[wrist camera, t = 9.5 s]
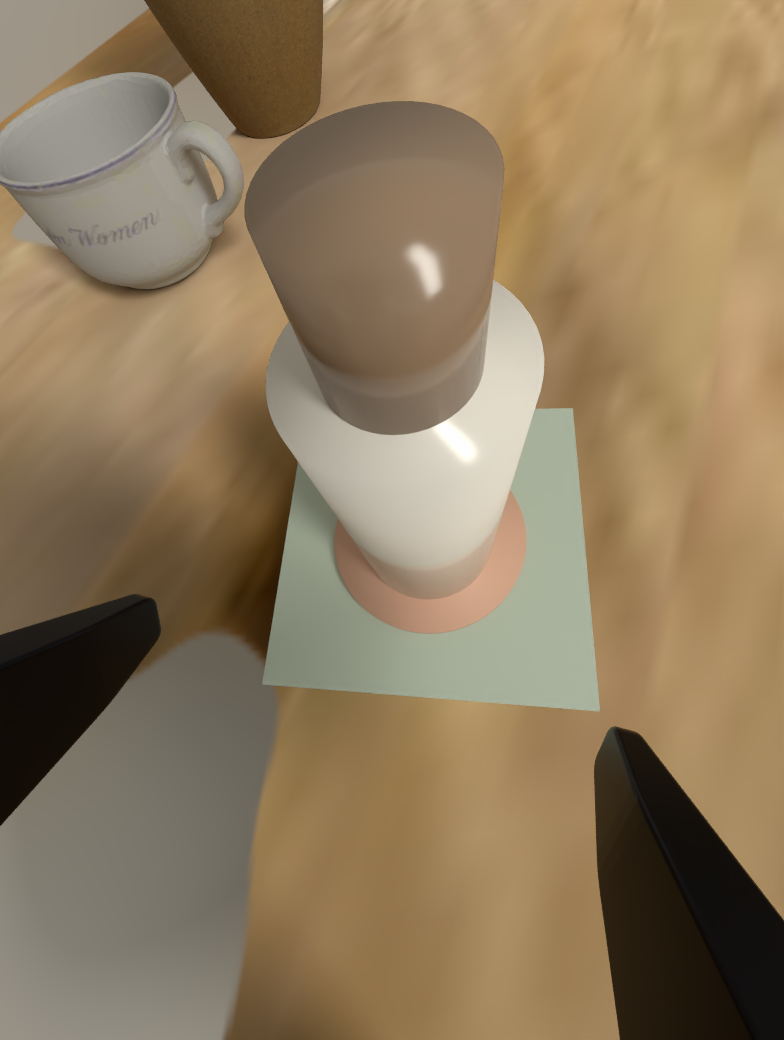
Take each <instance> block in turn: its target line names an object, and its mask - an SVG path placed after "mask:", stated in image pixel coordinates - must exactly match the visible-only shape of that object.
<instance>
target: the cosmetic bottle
mask: <svg viewBox="0 0 784 1040" xmlns="http://www.w3.org/2000/svg"><path fill="white" fill-rule="evenodd" d="M503 181H504V162H503V156H502V153H501V151H500V148H499V146H498V144H497V142H496V141H495V139H494V137H493V136H492V135H491V134H490V133H489V132H488V130H487V129H486V128H485V127H483V126H482V125H481V124H480V123H478V122H477V121H476V120H474V119H472V118H471V117H469V116H467V115H466V114H464V113H461V112H459V111H456V110H454V109H451V108H448V107H444V106H441V105H436V104H430V103H425V102H413V101H393V102H382V103H375V104H369V105H363V106H359V107H355V108H351V109H347V110H344V111H341V112H338V113H335V114H333V115H330V116H328V117H325V118H323V119H320V120H318V121H316V122H314V123H312V124H310V125H309V126H307V127H305V128H303V129H302V130H300V131H298V132H297V133H295V134H294V135H292V136H291V137H290V138H288V139H287V140H286V141H284V142H283V143H282V144H281V145H280V146H278V147H277V148H276V149H275V150H274V151H273V152H272V153H271V154H270V155H269V156H268V157H267V158H266V160H265V161H264V162H263V163H262V165H261V166H260V167H259V169H258V170H257V172H256V173H255V175H254V177H253V179H252V181H251V183H250V186H249V188H248V191H247V194H246V200H245V220H246V225H247V228H248V231H249V233H250V235H251V238H252V240H253V242H254V244H255V247H256V249H257V251H258V253H259V255H260V258H261V260H262V262H263V264H264V267H265V269H266V271H267V273H268V275H269V278H270V280H271V282H272V284H273V286H274V289H275V291H276V293H277V295H278V298H279V300H280V302H281V304H282V306H283V309H284V311H285V313H286V315H287V317H288V320H289V322H288V324H287V325H286V326H285V328H284V329H283V331H282V333H281V334H280V336H279V338H278V339H277V342H276V344H275V346H274V349H273V351H272V353H271V357H270V360H269V364H268V368H267V375H266V398H267V404H268V409H269V412H270V415H271V418H272V421H273V424H274V426H275V427H276V429H277V431H278V433H279V435H280V436H281V438H282V439H283V441H284V442H285V444H286V445H287V447H288V448H289V449H290V451H291V452H292V454H293V455H294V457H295V458H296V459H297V461H298V462H299V464H300V465H301V467H302V468H303V469H304V471H305V472H306V474H307V475H308V477H309V478H310V479H311V481H312V482H313V484H314V485H315V487H316V488H317V489H318V491H319V492H320V494H321V495H322V497H323V498H324V499H325V501H326V502H327V504H328V505H329V507H330V508H331V509H332V511H333V512H334V514H335V515H336V517H337V518H338V519H339V521H340V522H341V524H342V525H343V527H344V528H345V529H346V531H347V532H348V534H349V535H350V536H351V538H352V539H353V541H354V542H355V544H356V545H357V546H358V548H359V549H360V551H361V552H362V554H363V555H364V556H365V558H366V559H367V561H368V562H369V564H370V565H371V566H372V568H373V569H374V571H375V572H376V573H377V575H378V576H379V577H380V579H381V580H382V581H383V582H384V583H385V584H387V585H388V586H389V587H391V588H392V589H393V590H395V591H397V592H399V593H401V594H403V595H406V596H408V597H412V598H416V599H425V600H427V599H440V598H444V597H448V596H451V595H453V594H456V593H458V592H460V591H462V590H463V589H465V588H466V587H468V586H469V585H470V584H471V583H473V582H474V581H475V579H476V578H477V577H478V576H479V575H480V574H481V572H482V571H483V569H484V567H485V566H486V564H487V562H488V559H489V556H490V553H491V550H492V546H493V543H494V540H495V537H496V533H497V530H498V527H499V524H500V520H501V517H502V514H503V511H504V507H505V504H506V501H507V498H508V494H509V491H510V488H511V485H512V481H513V478H514V475H515V472H516V469H517V465H518V462H519V459H520V456H521V452H522V449H523V446H524V443H525V439H526V436H527V433H528V430H529V426H530V423H531V420H532V417H533V413H534V410H535V407H536V404H537V400H538V397H539V394H540V391H541V386H542V381H543V375H544V353H543V347H542V341H541V338H540V335H539V332H538V329H537V327H536V325H535V323H534V321H533V319H532V317H531V315H530V314H529V313H528V311H527V310H526V309H525V307H524V306H523V304H522V303H521V302H520V301H519V300H518V299H517V298H516V297H515V296H514V295H513V294H512V293H511V292H510V291H508V290H507V289H506V288H504V287H503V286H502V285H500V284H499V283H498V282H496V281H494V280H493V277H494V267H495V258H496V248H497V239H498V229H499V220H500V210H501V200H502V191H503Z"/></svg>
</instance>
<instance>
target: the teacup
mask: <svg viewBox="0 0 784 1040" xmlns="http://www.w3.org/2000/svg"><path fill="white" fill-rule="evenodd" d="M199 151H200V152H201V153H203V154H205V155H206V156H207V157H208V158H209V159H210V160H211V161H212V162H213V163H214V164H215V166H216V167H217V168H218V170H219V172H220V173H221V175H222V178H223V182H224V191H223V195H222V196H221V198H220V199H219V200H217V196H216V193H215V190H214V187H213V184H212V181H211V179H210V176H209V173H208V171H207V169H206V166H205V164H204V161H203V159H202V157H201V155H200V152H199ZM0 184H1V185H2V186H3V187H5V188H6V189H7V190H8V191H9V192H10V194H11V195H12V196H13V197H14V198H15V200H16V201H17V202H18V203H19V204H20V205H21V207H22V208H23V209H24V210H25V211H26V212H27V214H28V215H29V216H30V217H31V218H32V219H33V220H34V222H35V223H36V224H37V225H38V226H39V227H40V228H41V229H42V230H43V232H44V233H45V234H46V235H47V236H48V237H49V238H50V239H51V240H52V242H53V243H54V244H55V245H56V246H57V247H58V248H59V249H60V250H61V251H62V252H63V253H64V254H65V255H66V256H67V257H68V258H69V259H70V260H71V261H72V262H73V263H74V264H75V265H76V266H78V267H79V268H80V269H81V270H83V271H84V272H85V273H87V274H88V275H90V276H92V277H94V278H95V279H98V280H100V281H102V282H105V283H109V284H113V285H119V286H129V287H132V288H137V289H155V288H161V287H164V286H168V285H170V284H173V283H176V282H178V281H180V280H182V279H184V278H185V277H187V276H188V275H190V274H191V273H192V272H193V271H194V270H196V269H197V268H198V267H199V266H200V265H201V263H202V262H203V261H204V259H205V258H206V256H207V254H208V252H209V250H210V247H211V243H212V241H213V239H214V238H216V237H218V236H219V235H220V234H221V232H222V231H223V228H224V221H225V220H226V219H227V218H228V217H229V216H230V215H231V214H232V213H233V212H234V210H235V209H236V207H237V205H238V203H239V201H240V199H241V197H242V192H243V188H244V177H243V171H242V167H241V164H240V162H239V159H238V157H237V155H236V153H235V151H234V150H233V148H232V146H231V145H230V144H229V142H228V141H227V140H226V139H225V138H224V137H223V136H222V135H221V134H220V133H219V132H218V131H217V130H216V129H214V128H213V127H211V126H210V125H208V124H205V123H203V122H199V121H190V122H186V121H185V119H184V117H183V115H182V112H181V110H180V108H179V106H178V102H177V96H176V93H175V91H174V89H173V88H172V86H171V85H170V84H169V83H168V82H167V81H166V80H164V79H163V78H161V77H158V76H156V75H153V74H148V73H141V72H125V73H115V74H110V75H105V76H101V77H99V78H94V79H90V80H87V81H84V82H81V83H78V84H76V85H73V86H70V87H67V88H65V89H63V90H60V91H58V92H56V93H54V94H52V95H50V96H49V97H47V98H45V99H43V100H41V101H39V102H37V103H36V104H35V105H34V106H32V107H31V108H29V109H27V110H26V111H24V112H23V113H22V114H20V115H19V116H18V117H16V118H14V119H13V120H12V121H10V122H9V123H8V124H7V125H6V127H5V128H4V129H3V130H2V131H1V132H0Z"/></svg>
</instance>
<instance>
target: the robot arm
mask: <svg viewBox="0 0 784 1040" xmlns="http://www.w3.org/2000/svg"><path fill="white" fill-rule="evenodd" d="M160 633H161V626H160V621H159V615H158V610H157V605H156V602H155V601H154V599H152V598H150V597H146V596H142V595H139V594H133V595H129V596H126V597H123V598H119V599H116V600H113V601H110V602H106V603H103V604H100V605H97V606H93V607H90V608H87V609H83V610H80V611H77V612H74V613H70V614H67V615H64V616H61V617H57V618H54V619H51V620H48V621H44V622H41V623H38V624H35V625H31V626H28V627H25V628H21V629H18V630H15V631H12V632H8V633H5V634H2V635H0V826H1V825H2V824H3V822H4V821H5V820H6V819H7V818H8V817H9V816H10V815H11V814H12V812H13V811H14V810H15V809H16V808H17V807H18V806H19V805H20V803H21V802H22V801H23V800H24V799H25V798H26V797H27V796H28V795H29V793H30V792H31V791H32V790H33V789H34V788H35V787H36V786H37V785H38V783H39V782H40V781H41V780H42V779H43V778H44V777H45V776H46V774H47V773H48V772H49V771H50V770H51V769H52V768H53V767H54V765H55V764H56V763H57V762H58V761H59V760H60V759H61V758H62V757H63V755H64V754H65V753H66V752H67V751H68V750H69V749H70V748H71V747H72V745H73V744H74V743H75V742H76V741H77V740H78V739H79V738H80V736H81V735H82V734H83V733H84V732H85V731H86V730H87V729H88V728H89V726H90V725H91V724H92V723H93V722H94V721H95V720H96V719H97V717H98V716H99V715H100V714H101V713H102V712H103V711H104V709H105V708H106V707H107V706H108V705H109V704H110V702H111V701H112V700H113V699H114V697H115V696H116V695H117V693H118V692H119V691H120V689H121V688H122V687H123V685H124V684H125V683H126V681H127V680H128V679H129V678H130V676H131V675H132V674H133V672H134V671H135V670H136V668H137V667H138V666H139V664H140V663H141V662H142V660H143V659H144V658H145V656H146V655H147V654H148V652H149V651H150V650H151V648H152V647H153V646H154V644H155V643H156V642H157V640H158V638H159V636H160ZM594 785H595V815H596V845H597V868H598V879H599V888H600V896H601V904H602V911H603V918H604V926H605V933H606V940H607V948H608V955H609V962H610V970H611V977H612V984H613V992H614V999H615V1006H616V1014H617V1021H618V1028H619V1036H620V1040H784V920H783V919H782V917H781V916H780V915H779V913H778V912H777V911H776V909H775V908H774V907H773V906H772V904H771V903H770V902H769V900H768V899H767V898H766V897H765V895H764V894H763V893H762V891H761V890H760V889H759V887H758V886H757V885H756V884H755V882H754V881H753V880H752V878H751V877H750V876H749V874H748V873H747V872H746V871H745V869H744V868H743V867H742V865H741V864H740V863H739V862H738V860H737V859H736V858H735V856H734V855H733V854H732V852H731V851H730V850H729V849H728V847H727V846H726V845H725V843H724V842H723V841H722V840H721V838H720V837H719V836H718V834H717V833H716V832H715V830H714V829H713V828H712V827H711V825H710V824H709V823H708V821H707V820H706V819H705V818H704V816H703V815H702V814H701V812H700V811H699V810H698V808H697V807H696V806H695V805H694V803H693V802H692V801H691V799H690V798H689V797H688V796H687V794H686V793H685V792H684V790H683V789H682V788H681V786H680V785H679V784H678V783H677V781H676V780H675V779H674V777H673V776H672V775H671V774H670V772H669V771H668V770H667V768H666V767H665V766H664V764H663V763H662V762H661V761H660V759H659V758H658V757H657V755H656V754H655V753H654V752H653V750H652V749H651V748H650V746H649V745H648V744H647V742H646V741H645V740H644V739H643V737H642V736H641V735H640V734H638V733H637V732H634V731H631V730H627V729H623V728H620V727H616V726H614V727H611V728H610V729H609V730H608V732H607V734H606V736H605V739H604V741H603V743H602V745H601V747H600V750H599V752H598V754H597V756H596V760H595V765H594Z"/></svg>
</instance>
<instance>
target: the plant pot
mask: <svg viewBox="0 0 784 1040" xmlns="http://www.w3.org/2000/svg"><path fill="white" fill-rule="evenodd" d="M144 1H145V2H146V3H147V5H148V7H149V8H150V10H151V11H152V13H153V14H154V16H155V17H156V19H157V20H158V22H159V23H160V25H161V26H162V28H163V29H164V31H165V32H166V34H167V35H168V37H169V38H170V39H171V41H172V42H173V44H174V45H175V47H176V48H177V50H178V51H179V52H180V54H181V55H182V57H183V58H184V59H185V61H186V62H187V64H188V65H189V67H190V68H191V69H192V71H193V72H194V74H195V75H196V76H197V78H198V79H199V80H200V82H201V83H202V84H203V86H204V87H205V88H206V90H207V91H208V92H209V94H210V95H211V96H212V98H213V99H214V100H215V102H216V103H217V104H218V106H219V107H220V108H221V109H222V111H223V112H224V113H225V115H226V116H227V117H228V118H229V120H230V121H231V122H232V123H233V125H234V126H235V127H236V128H237V130H238V131H240V132H241V133H243V134H245V135H247V136H250V137H254V138H268V137H275V136H280V135H283V134H285V133H288V132H291V131H293V130H295V129H297V128H298V127H300V126H302V125H303V124H304V123H306V122H307V121H308V120H309V119H310V118H311V117H312V116H313V115H314V113H315V112H316V110H317V109H318V106H319V103H320V94H321V75H322V49H323V0H144Z"/></svg>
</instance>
